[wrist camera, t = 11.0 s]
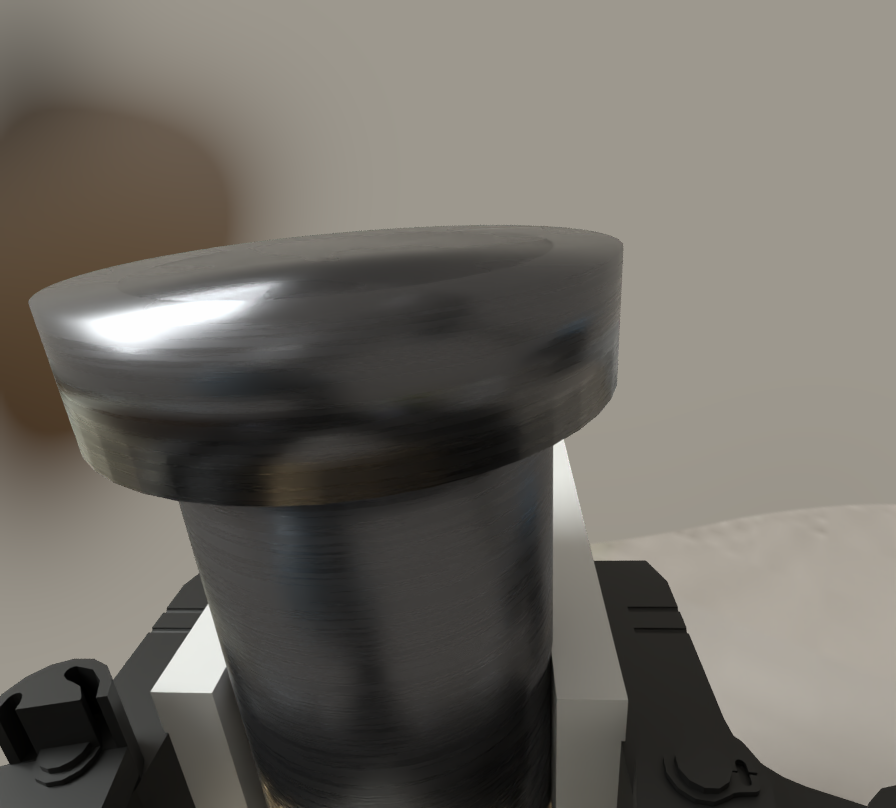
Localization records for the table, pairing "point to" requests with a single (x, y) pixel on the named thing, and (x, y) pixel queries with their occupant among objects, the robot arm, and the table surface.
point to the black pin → (360, 482)
